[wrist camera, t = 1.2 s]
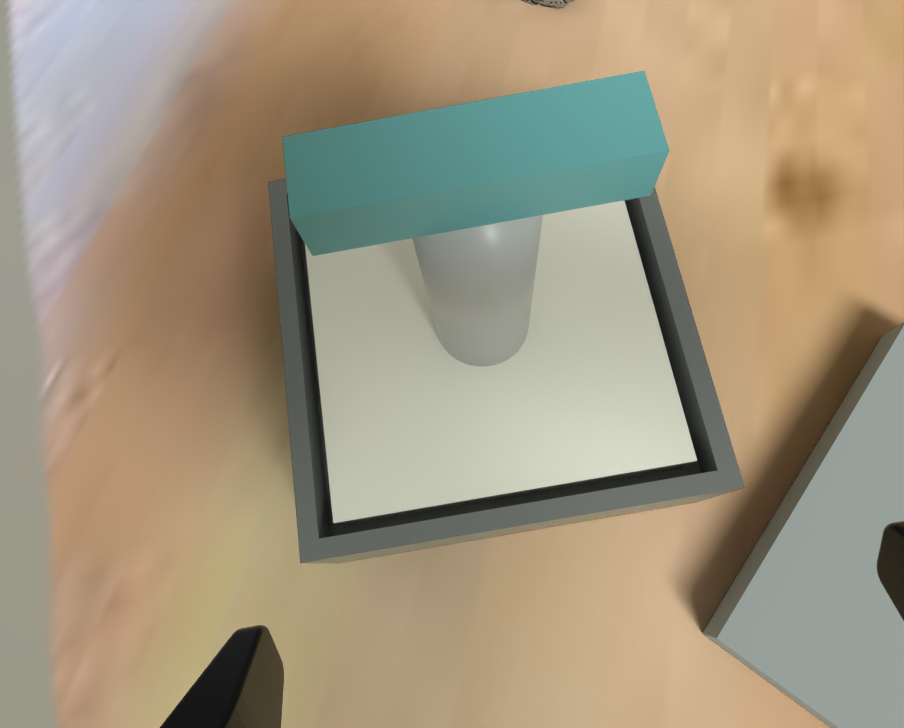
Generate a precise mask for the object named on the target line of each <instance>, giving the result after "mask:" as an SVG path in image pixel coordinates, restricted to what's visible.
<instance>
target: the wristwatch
mask: <svg viewBox="0 0 904 728" xmlns="http://www.w3.org/2000/svg"><path fill="white" fill-rule="evenodd" d="M522 1H524V2H526V3H529V4H533V5H537V4H540V5H542V6H547V7H556V8H563V7H565V6H566V5H567V4H568V2H572V1H574V0H522Z"/></svg>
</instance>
